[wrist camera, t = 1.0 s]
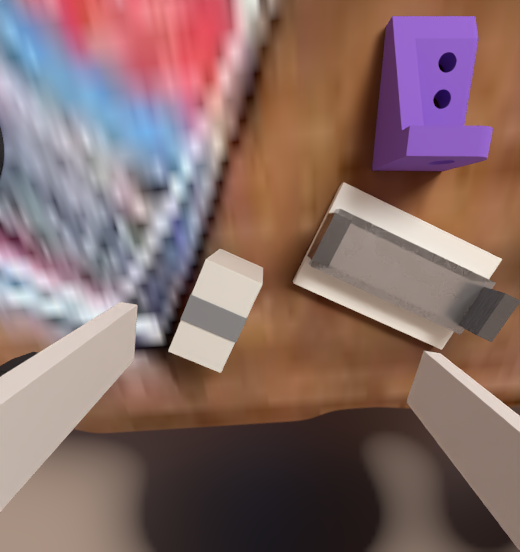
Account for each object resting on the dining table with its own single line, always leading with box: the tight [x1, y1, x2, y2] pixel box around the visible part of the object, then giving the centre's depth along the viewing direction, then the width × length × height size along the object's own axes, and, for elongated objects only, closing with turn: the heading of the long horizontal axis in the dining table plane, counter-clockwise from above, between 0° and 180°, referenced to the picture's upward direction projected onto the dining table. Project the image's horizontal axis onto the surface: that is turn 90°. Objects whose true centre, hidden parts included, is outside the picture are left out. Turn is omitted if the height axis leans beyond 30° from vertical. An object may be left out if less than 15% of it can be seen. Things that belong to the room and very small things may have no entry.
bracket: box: [372, 16, 493, 171], centre depth 22 cm, size 12×7×7 cm, turn 179°
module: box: [168, 249, 263, 373], centre depth 26 cm, size 5×9×7 cm, turn 156°
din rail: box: [308, 209, 520, 342], centre depth 25 cm, size 19×6×4 cm, turn 66°
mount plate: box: [293, 182, 502, 350], centre depth 28 cm, size 18×11×1 cm, turn 66°
